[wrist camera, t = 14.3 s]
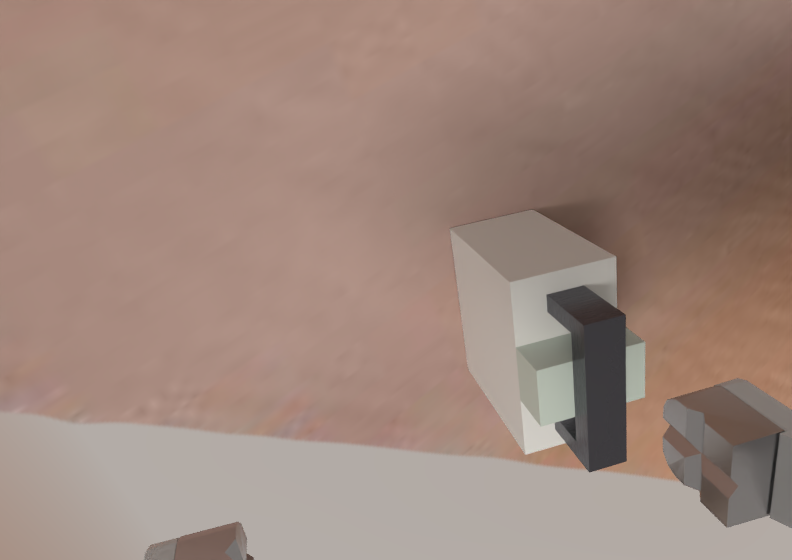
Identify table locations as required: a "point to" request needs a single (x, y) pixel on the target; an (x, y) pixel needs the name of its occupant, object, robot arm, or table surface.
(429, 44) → the table surface
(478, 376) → the stand
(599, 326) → the frame
